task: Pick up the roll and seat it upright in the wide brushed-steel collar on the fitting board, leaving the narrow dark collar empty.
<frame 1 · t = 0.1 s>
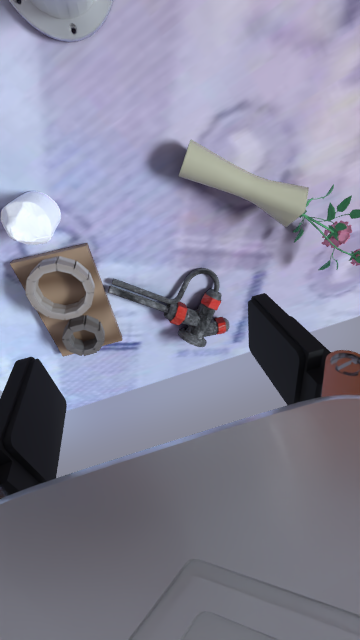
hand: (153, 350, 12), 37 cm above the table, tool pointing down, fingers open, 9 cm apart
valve: (176, 294, 54), on the table
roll: (39, 211, 40), on the table
flower vase: (266, 200, 47), on the table
fitting board: (74, 303, 49), on the table
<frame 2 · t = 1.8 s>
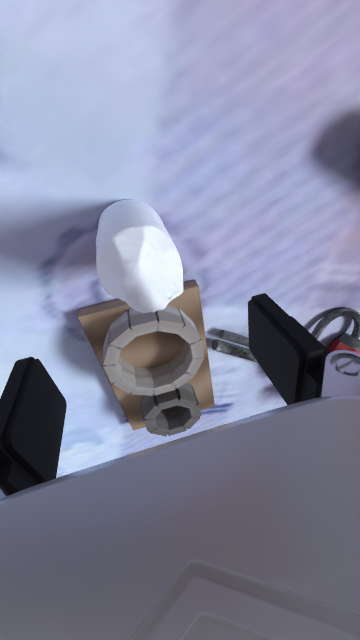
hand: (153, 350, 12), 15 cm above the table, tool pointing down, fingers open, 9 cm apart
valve: (296, 341, 38), on the table
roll: (131, 232, 24), on the table
fitting board: (158, 362, 33), on the table
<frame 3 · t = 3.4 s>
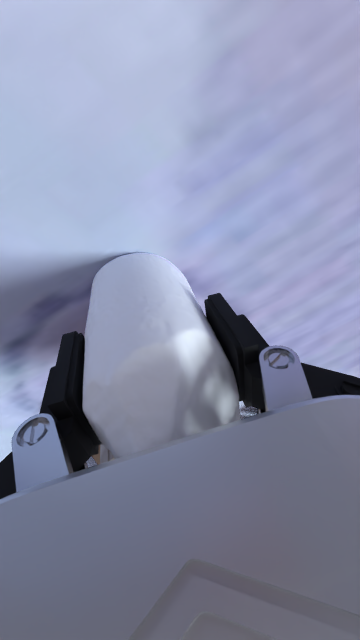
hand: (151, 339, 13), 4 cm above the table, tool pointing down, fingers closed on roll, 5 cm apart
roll: (141, 297, 16), on the table, touching gripper
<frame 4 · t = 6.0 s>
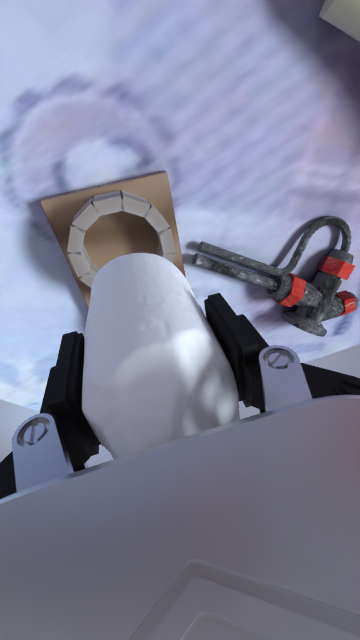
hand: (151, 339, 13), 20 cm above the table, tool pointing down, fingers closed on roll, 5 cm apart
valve: (283, 261, 36), on the table
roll: (141, 297, 16), point 16 cm above the table, touching gripper
fitting board: (132, 275, 32), on the table
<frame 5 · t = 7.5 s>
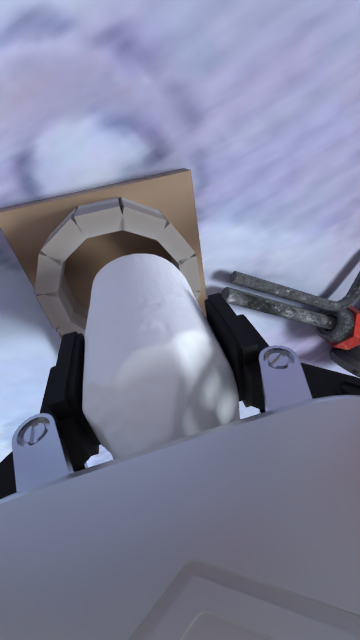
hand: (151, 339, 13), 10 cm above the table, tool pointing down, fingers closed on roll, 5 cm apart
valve: (336, 289, 28), on the table
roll: (141, 297, 16), point 6 cm above the table, touching gripper
fitting board: (135, 313, 23), on the table
when the fingers open (8 cm above the table, at t = 8.6 s): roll stays where it is, resting on fitting board.
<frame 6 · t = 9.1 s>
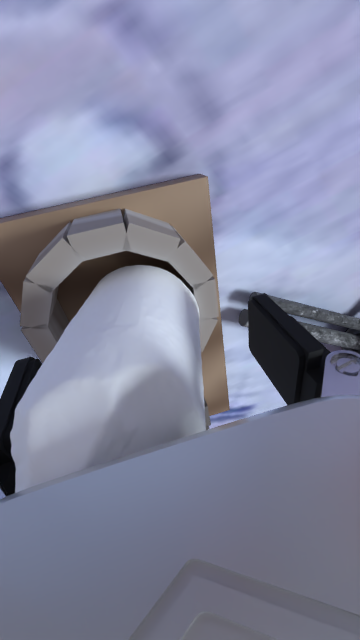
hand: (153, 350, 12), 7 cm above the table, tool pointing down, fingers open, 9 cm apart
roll: (146, 311, 15), point 4 cm above the table, touching fitting board, gripper
fitting board: (140, 337, 20), on the table
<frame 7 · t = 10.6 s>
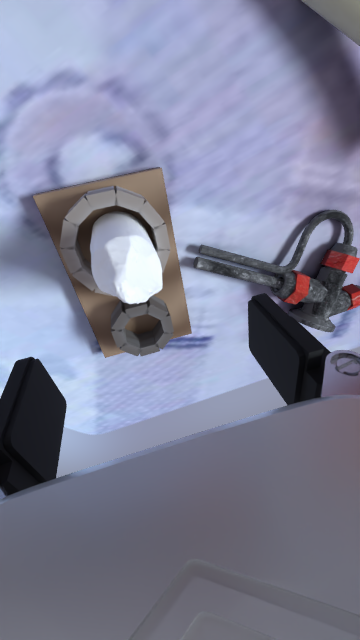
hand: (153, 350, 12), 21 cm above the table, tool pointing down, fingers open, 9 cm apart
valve: (285, 258, 36), on the table
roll: (120, 239, 28), point 1 cm above the table, touching fitting board
fitting board: (127, 273, 31), on the table
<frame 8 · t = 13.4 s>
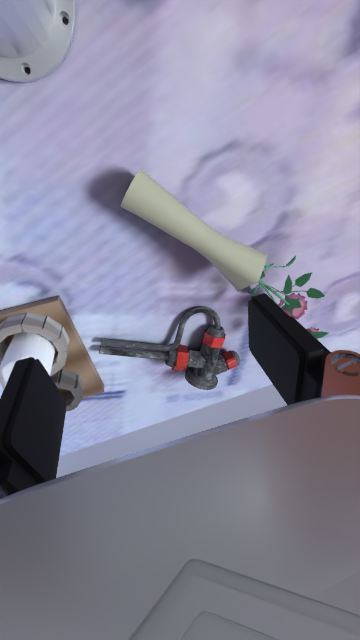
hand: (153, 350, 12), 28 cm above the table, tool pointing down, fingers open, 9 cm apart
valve: (175, 336, 49), on the table
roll: (36, 340, 40), point 1 cm above the table, touching fitting board
flower vase: (224, 254, 42), on the table
fitting board: (48, 356, 44), on the table
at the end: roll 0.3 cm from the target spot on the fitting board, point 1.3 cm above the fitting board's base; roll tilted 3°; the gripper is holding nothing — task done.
